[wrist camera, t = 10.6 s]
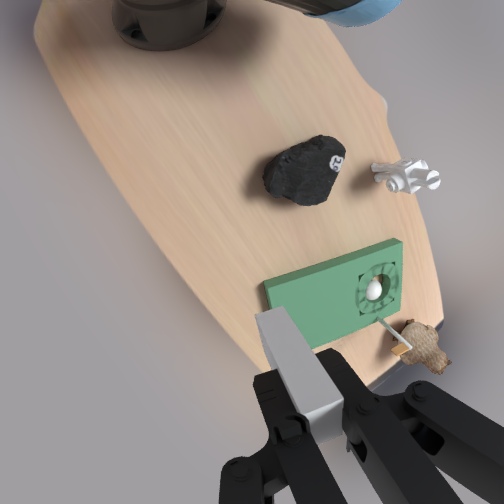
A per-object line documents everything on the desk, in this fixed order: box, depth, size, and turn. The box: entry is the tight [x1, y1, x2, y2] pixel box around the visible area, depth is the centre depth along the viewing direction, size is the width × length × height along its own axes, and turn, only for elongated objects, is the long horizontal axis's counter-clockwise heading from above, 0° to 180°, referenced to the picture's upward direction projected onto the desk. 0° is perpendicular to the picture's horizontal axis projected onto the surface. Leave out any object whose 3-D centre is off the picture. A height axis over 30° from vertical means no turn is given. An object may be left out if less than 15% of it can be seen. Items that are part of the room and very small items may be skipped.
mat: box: [263, 238, 412, 356], centre depth 39 cm, size 14×24×12 cm, turn 103°
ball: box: [365, 280, 382, 300], centre depth 44 cm, size 4×4×4 cm
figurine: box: [393, 319, 452, 375], centre depth 46 cm, size 9×10×15 cm
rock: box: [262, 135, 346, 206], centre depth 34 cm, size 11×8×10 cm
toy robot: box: [371, 158, 440, 194], centre depth 34 cm, size 4×8×12 cm, turn 119°
